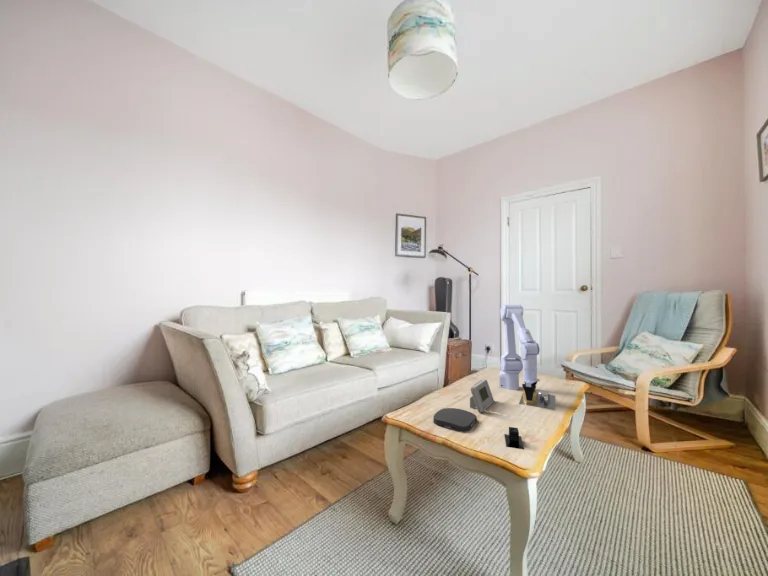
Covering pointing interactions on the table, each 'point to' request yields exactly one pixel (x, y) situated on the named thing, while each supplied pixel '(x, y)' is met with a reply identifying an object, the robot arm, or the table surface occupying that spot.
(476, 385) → the digital clock
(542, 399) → the plate
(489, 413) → the table surface
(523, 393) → the brass octagonal sleeve
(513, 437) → the block on black plate
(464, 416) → the media streaming box
